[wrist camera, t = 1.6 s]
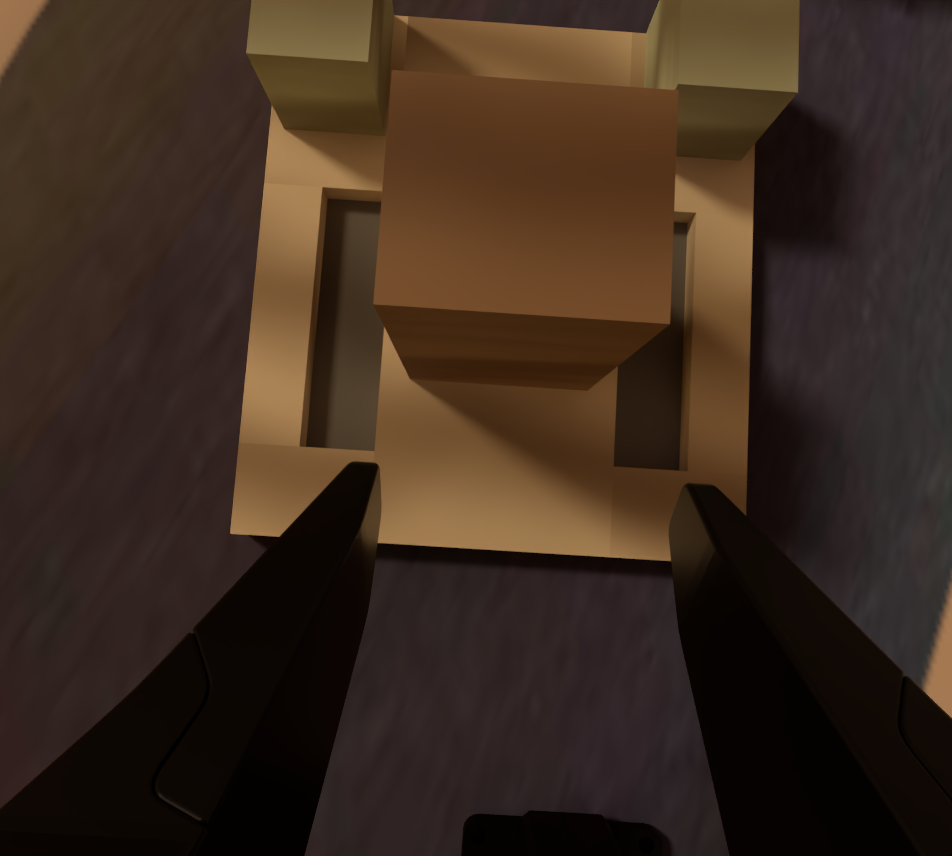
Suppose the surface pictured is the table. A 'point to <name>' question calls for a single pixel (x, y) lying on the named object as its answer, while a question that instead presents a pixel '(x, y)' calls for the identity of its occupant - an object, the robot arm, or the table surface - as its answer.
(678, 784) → the table surface
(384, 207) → the walnut block
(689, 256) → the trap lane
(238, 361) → the table surface
